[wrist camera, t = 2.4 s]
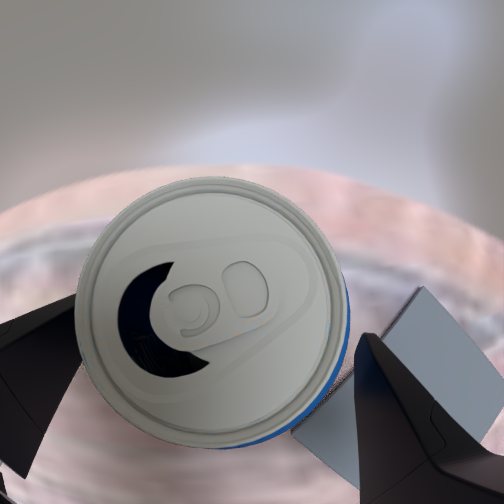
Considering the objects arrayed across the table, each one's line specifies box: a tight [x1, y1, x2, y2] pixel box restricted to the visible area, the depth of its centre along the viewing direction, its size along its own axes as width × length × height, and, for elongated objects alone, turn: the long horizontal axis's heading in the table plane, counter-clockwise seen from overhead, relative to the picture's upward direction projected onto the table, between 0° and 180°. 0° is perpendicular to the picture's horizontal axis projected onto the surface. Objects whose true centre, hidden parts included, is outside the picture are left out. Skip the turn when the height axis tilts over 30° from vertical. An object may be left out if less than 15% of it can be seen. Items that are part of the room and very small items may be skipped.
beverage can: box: [75, 177, 350, 449], centre depth 11 cm, size 6×6×12 cm
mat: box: [291, 286, 504, 490], centre depth 14 cm, size 12×12×1 cm
